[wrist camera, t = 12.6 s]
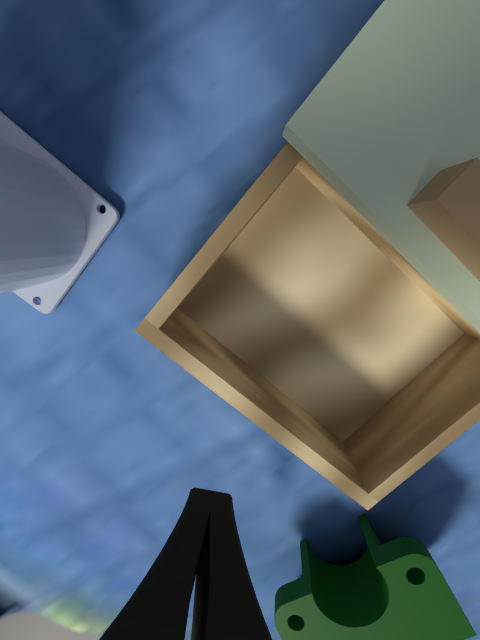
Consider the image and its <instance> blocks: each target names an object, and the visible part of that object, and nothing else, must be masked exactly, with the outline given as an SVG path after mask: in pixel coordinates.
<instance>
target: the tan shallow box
mask: <svg viewBox="0 0 480 640" xmlns="http://www.w3.org/2000/svg"><path fill="white" fill-rule="evenodd" d="M135 331H136V332H137V333H138V334H140V335H141V336H142V337H144V338H145V339H146V340H148V341H149V342H150V343H151V344H153V345H154V346H155V347H157V348H158V349H159V350H160V351H162V352H163V353H164V354H166V355H167V356H168V357H170V358H171V359H172V360H173V361H175V362H176V363H177V364H179V365H180V366H181V367H182V368H184V369H185V370H186V371H188V372H189V373H190V374H192V375H193V376H194V377H195V378H197V379H198V380H199V381H201V382H202V383H203V384H205V385H206V386H207V387H208V388H210V389H211V390H212V391H214V392H215V393H216V394H217V395H219V396H220V397H221V398H223V399H224V400H225V401H227V402H228V403H229V404H230V405H232V406H233V407H234V408H236V409H237V410H238V411H239V412H241V413H242V414H243V415H245V416H246V417H247V418H249V419H250V420H251V421H252V422H254V423H255V424H256V425H258V426H259V427H260V428H262V429H263V430H264V431H265V432H267V433H268V434H269V435H271V436H272V437H273V438H274V439H276V440H277V441H278V442H280V443H281V444H282V445H284V446H285V447H286V448H287V449H289V450H290V451H291V452H293V453H294V454H295V455H296V456H298V457H299V458H300V459H302V460H303V461H304V462H306V463H307V464H308V465H309V466H311V467H312V468H313V469H315V470H316V471H317V472H319V473H320V474H321V475H322V476H324V477H325V478H326V479H328V480H329V481H330V482H331V483H333V484H334V485H335V486H337V487H338V488H339V489H341V490H342V491H343V492H344V493H346V494H347V495H348V496H350V497H351V498H352V499H354V500H355V501H356V502H357V503H359V504H360V505H361V506H363V507H364V508H365V509H366V510H369V509H370V508H372V507H373V506H374V505H375V504H377V503H378V502H379V501H380V500H381V499H383V498H384V497H385V496H386V495H388V494H389V493H390V492H391V491H393V490H394V489H395V488H396V487H397V486H399V485H400V484H401V483H402V482H404V481H405V480H406V479H407V478H409V477H410V476H411V475H412V474H413V473H415V472H416V471H417V470H418V469H420V468H421V467H422V466H423V465H425V464H426V463H427V462H428V461H430V460H431V459H432V458H433V457H434V456H436V455H437V454H438V453H439V452H441V451H442V450H443V449H444V448H446V447H447V446H448V445H449V444H450V443H452V442H453V441H454V440H455V439H457V438H458V437H459V436H460V435H462V434H463V433H464V432H465V431H467V430H468V429H469V428H470V427H471V426H473V425H474V424H475V423H476V422H478V421H479V420H480V333H479V332H478V331H477V330H476V329H475V328H474V327H473V326H472V325H471V324H470V323H469V322H468V321H467V320H466V319H465V318H464V317H463V316H462V315H461V314H460V313H459V312H458V311H457V310H456V309H455V308H454V307H453V306H452V305H451V304H450V303H449V302H448V301H447V300H446V299H445V298H444V297H443V296H442V295H441V294H440V293H439V292H438V291H437V290H436V289H435V288H434V287H433V286H432V285H431V284H430V283H429V282H428V281H427V280H426V279H425V278H424V277H423V276H422V275H421V274H420V273H419V272H418V271H417V270H416V269H415V268H414V267H413V266H412V265H411V264H410V263H409V262H408V261H407V260H406V259H405V258H404V257H403V256H402V255H401V254H400V253H399V252H398V251H397V250H396V249H395V248H394V247H393V246H392V245H391V244H390V243H389V242H388V241H387V240H386V239H385V238H384V237H383V236H382V235H381V234H380V233H379V232H378V231H377V230H376V229H375V228H374V227H373V226H372V225H371V224H370V223H369V222H368V221H367V220H366V219H365V218H364V217H363V216H362V215H361V214H360V213H359V212H358V211H357V210H356V209H355V208H354V207H353V206H352V205H351V204H350V203H349V202H348V201H347V200H346V199H345V198H344V197H343V196H342V195H341V194H340V193H339V192H338V191H337V190H336V189H335V188H334V187H333V186H332V185H331V184H330V183H329V182H328V181H327V180H326V179H325V178H324V177H323V176H322V175H321V174H320V173H319V172H318V171H317V170H316V169H315V168H314V167H313V166H312V165H311V164H310V163H309V162H308V161H307V160H306V159H305V158H304V157H303V156H302V155H301V154H300V153H299V152H298V151H297V150H296V149H295V148H294V147H293V146H292V145H291V144H290V143H289V142H287V143H286V144H285V145H284V147H283V148H282V149H281V150H280V151H279V153H278V154H277V155H276V156H275V158H274V159H273V160H272V161H271V163H270V164H269V165H268V166H267V168H266V169H265V170H264V171H263V173H262V174H261V175H260V176H259V177H258V179H257V180H256V181H255V182H254V184H253V185H252V186H251V187H250V189H249V190H248V191H247V192H246V194H245V195H244V196H243V197H242V199H241V200H240V201H239V202H238V203H237V205H236V206H235V207H234V208H233V210H232V211H231V212H230V213H229V215H228V216H227V217H226V218H225V220H224V221H223V222H222V223H221V225H220V226H219V227H218V228H217V229H216V231H215V232H214V233H213V234H212V236H211V237H210V238H209V239H208V241H207V242H206V243H205V244H204V246H203V247H202V248H201V249H200V251H199V252H198V253H197V254H196V255H195V257H194V258H193V259H192V260H191V262H190V263H189V264H188V265H187V267H186V268H185V269H184V270H183V272H182V273H181V274H180V275H179V277H178V278H177V279H176V280H175V281H174V283H173V284H172V285H171V286H170V288H169V289H168V290H167V291H166V293H165V294H164V295H163V296H162V298H161V299H160V300H159V301H158V303H157V304H156V305H155V306H154V307H153V309H152V310H151V311H150V312H149V314H148V315H147V316H146V317H145V319H144V320H143V321H142V322H141V324H140V325H139V326H138V327H137V329H136V330H135Z"/></svg>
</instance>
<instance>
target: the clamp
mask: <svg viewBox="0 0 480 640" xmlns="http://www.w3.org/2000/svg"><path fill="white" fill-rule="evenodd" d="M358 520H359V522H360V525H361V528H362V531H363V533H364V536H365V539H366V542H367V548H366V550H365V552H364V554H363V555H362V556H361V557H360V558H359V559H358V560H357V561H355V562H353V563H351V564H348V565H343V566H336V565H331V564H328V563H325V562H323V561H322V560H320V559H319V558H317V557H316V556H315V555H314V554H313V553H312V551H311V550H310V548H309V546H308V544H307V541H306V540H304V541H302V542H300V548H301V561H302V573H303V577H302V578H299V579H297V580H295V581H292V582H290V583H287V584H285V585H283V586H281V587H280V588H279V589H278V591H277V593H276V595H275V626H276V629H277V631H278V633H279V634H280V636H281V638H282V640H464V639H467V638H470V637H472V636H475V635H476V633H475V631H474V630H473V628H472V626H471V624H470V623H469V621H468V619H467V617H466V616H465V614H464V612H463V610H462V609H461V607H460V605H459V603H458V601H457V600H456V598H455V596H454V594H453V593H452V591H451V589H450V587H449V586H448V584H447V582H446V580H445V579H444V577H443V575H442V573H441V572H440V570H439V568H438V566H437V565H436V563H435V561H434V560H433V558H432V556H431V555H430V553H429V551H428V550H427V548H426V547H425V545H424V544H423V543H422V542H420V541H419V540H417V539H415V538H412V537H399V538H396V539H394V540H391V541H389V542H387V543H384V544H382V545H381V543H380V541H379V539H378V538H377V536H376V534H375V532H374V530H373V529H372V527H371V525H370V523H369V522H368V520H367V518H366V516H365V515H362V516H360V517H358Z"/></svg>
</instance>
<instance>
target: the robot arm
mask: <svg viewBox="0 0 480 640" xmlns="http://www.w3.org/2000/svg"><path fill="white" fill-rule="evenodd" d="M102 205H104V206H105V207H106V211H105V213H104V214H102V213H101V212H100V206H102ZM119 219H120V214H119V212H118V210H117V209H116V208H115V207H114V206H112V205H111V204H110V203H109V202H108V201H107V200H105V199H104V198H103V197H102V196H101V195H99V194H98V193H97V192H96V191H95V190H93V189H92V188H91V187H90V186H89V185H88V184H86V183H85V182H84V181H83V180H82V179H80V178H79V177H78V176H77V175H76V174H74V173H73V172H72V171H71V170H70V169H69V168H67V167H66V166H65V165H64V164H63V163H61V162H60V161H59V160H58V159H57V158H56V157H54V156H53V155H52V154H51V153H50V152H48V151H47V150H46V149H45V148H44V147H42V146H41V145H40V144H39V143H38V142H37V141H35V140H34V139H33V138H32V137H31V136H29V135H28V134H27V133H26V132H25V131H23V130H22V129H21V128H20V127H19V126H18V125H16V124H15V123H14V122H13V121H12V120H10V119H9V118H8V117H7V116H6V115H4V114H3V113H2V112H1V111H0V293H5V292H9V291H13V292H14V293H15V294H17V295H18V296H19V297H21V298H22V299H23V300H25V301H26V302H27V303H29V304H30V305H32V306H33V307H34V308H36V309H37V310H38V311H40V312H41V313H43V314H48V313H51V312H53V311H54V310H55V309H56V307H57V306H58V305H59V303H60V302H61V300H62V299H63V298H64V296H65V295H66V293H67V292H68V291H69V289H70V288H71V287H72V285H73V284H74V282H75V281H76V280H77V278H78V277H79V275H80V274H81V273H82V271H83V270H84V268H85V267H86V266H87V264H88V263H89V261H90V260H91V259H92V257H93V256H94V255H95V253H96V252H97V250H98V249H99V248H100V246H101V245H102V243H103V242H104V241H105V239H106V238H107V236H108V235H109V234H110V232H111V231H112V229H113V228H114V227H115V225H116V224H117V223H118V221H119ZM37 297H39V298H40V299H41V304H40V303H39V302H38V301H37ZM195 577H196V583H195V596H194V609H193V621H192V634H191V640H272V638H271V635H270V632H269V630H268V627H267V625H266V622H265V620H264V617H263V614H262V611H261V609H260V606H259V603H258V600H257V597H256V594H255V591H254V588H253V585H252V582H251V579H250V576H249V572H248V569H247V566H246V562H245V558H244V555H243V551H242V547H241V544H240V540H239V535H238V531H237V526H236V521H235V516H234V510H233V503H232V497H231V495H230V494H227V493H222V492H216V491H210V490H205V489H199V488H193V489H191V490H190V494H189V497H188V500H187V502H186V505H185V507H184V509H183V512H182V514H181V516H180V518H179V520H178V522H177V524H176V526H175V527H174V529H173V531H172V533H171V535H170V537H169V538H168V540H167V542H166V544H165V545H164V547H163V549H162V551H161V552H160V554H159V555H158V557H157V559H156V560H155V562H154V563H153V565H152V566H151V568H150V570H149V571H148V573H147V574H146V576H145V577H144V579H143V580H142V582H141V583H140V585H139V586H138V588H137V589H136V591H135V592H134V594H133V595H132V596H131V598H130V599H129V601H128V602H127V603H126V605H125V606H124V608H123V609H122V610H121V612H120V613H119V614H118V616H117V617H116V618H115V620H114V621H113V622H112V624H111V625H110V626H109V627H108V629H107V630H106V631H105V633H104V634H103V635H102V637H101V638H100V639H99V640H184V638H185V631H186V624H187V617H188V610H189V604H190V598H191V594H192V590H193V585H194V581H195Z"/></svg>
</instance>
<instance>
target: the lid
mask: <svg viewBox="0 0 480 640" xmlns="http://www.w3.org/2000/svg"><path fill="white" fill-rule="evenodd" d="M282 136H283V137H284V138H285V139H286V140H287V141H288V142H289V143H290V144H291V145H292V146H293V147H294V148H295V149H296V150H297V151H298V152H299V153H300V154H301V155H302V156H303V157H304V158H305V159H306V160H307V161H308V162H309V163H310V164H311V165H312V166H313V167H314V168H315V169H316V170H317V171H318V172H319V173H320V174H321V175H322V176H323V177H324V178H325V179H326V180H327V181H328V182H329V183H330V184H331V185H332V186H333V187H334V188H335V189H336V190H337V191H338V192H339V193H340V194H341V195H342V196H343V197H344V198H345V199H346V200H347V201H348V202H349V203H350V204H351V205H352V206H353V207H354V208H355V209H356V210H357V211H358V212H359V213H360V214H361V215H362V216H363V217H364V218H365V219H366V220H367V221H368V222H369V223H370V224H371V225H372V226H373V227H374V228H375V229H376V230H377V231H378V232H379V233H380V234H381V235H382V236H383V237H384V238H385V239H386V240H387V241H388V242H389V243H390V244H391V245H392V246H393V247H394V248H395V249H396V250H397V251H398V252H399V253H400V254H401V255H402V256H403V257H404V258H405V259H406V260H407V261H408V262H409V263H410V264H411V265H412V266H413V267H414V268H415V269H416V270H417V271H418V272H419V273H420V274H421V275H422V276H423V277H424V278H425V279H426V280H427V281H428V282H429V283H430V284H431V285H432V286H433V287H434V288H435V289H436V290H437V291H438V292H439V293H440V294H441V295H442V296H443V297H444V298H445V299H446V300H447V301H448V302H449V303H450V304H451V305H452V306H453V307H454V308H455V309H456V310H457V311H458V312H459V313H460V314H461V315H462V316H463V317H464V318H465V319H466V320H467V321H468V322H469V323H470V324H471V325H472V326H473V327H474V328H475V329H476V330H477V331H478V332H479V333H480V0H384V2H383V3H382V4H381V5H380V7H379V8H378V9H377V10H376V12H375V13H374V14H373V16H372V17H371V18H370V19H369V21H368V22H367V23H366V24H365V26H364V27H363V28H362V29H361V31H360V32H359V33H358V34H357V36H356V37H355V38H354V39H353V41H352V42H351V43H350V44H349V46H348V47H347V48H346V49H345V51H344V52H343V53H342V54H341V56H340V57H339V58H338V60H337V61H336V62H335V63H334V65H333V66H332V67H331V68H330V70H329V71H328V72H327V73H326V75H325V76H324V77H323V78H322V80H321V81H320V82H319V83H318V85H317V86H316V87H315V88H314V90H313V91H312V92H311V93H310V95H309V96H308V97H307V98H306V100H305V101H304V102H303V103H302V105H301V106H300V107H299V109H298V110H297V111H296V112H295V114H294V115H293V116H292V117H291V119H290V120H289V121H288V122H287V124H286V125H285V128H284V131H283V133H282Z"/></svg>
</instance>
